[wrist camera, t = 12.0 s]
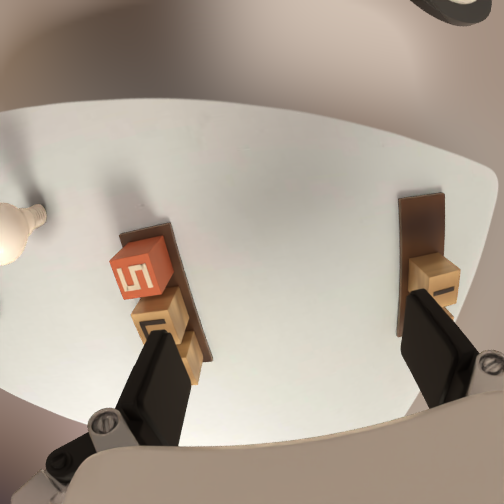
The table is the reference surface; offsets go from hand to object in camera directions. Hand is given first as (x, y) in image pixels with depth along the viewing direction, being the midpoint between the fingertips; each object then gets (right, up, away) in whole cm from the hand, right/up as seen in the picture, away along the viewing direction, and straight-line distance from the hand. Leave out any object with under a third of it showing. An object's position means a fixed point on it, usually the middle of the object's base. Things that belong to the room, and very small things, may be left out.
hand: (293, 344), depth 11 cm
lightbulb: (-27, +8, +19) cm, 34 cm away
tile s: (-12, +3, +20) cm, 24 cm away
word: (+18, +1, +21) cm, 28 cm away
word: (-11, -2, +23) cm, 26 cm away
